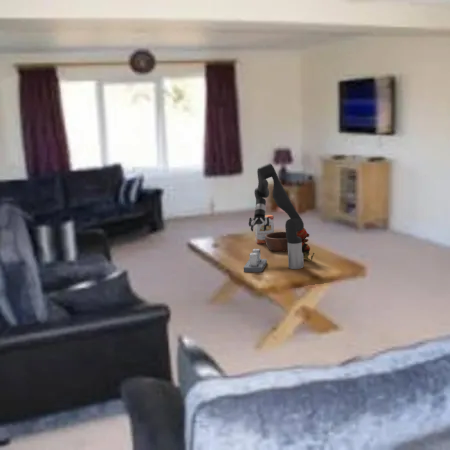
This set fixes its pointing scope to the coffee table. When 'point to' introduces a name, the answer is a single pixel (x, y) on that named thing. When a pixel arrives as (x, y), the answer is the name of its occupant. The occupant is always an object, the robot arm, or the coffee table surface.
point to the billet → (257, 254)
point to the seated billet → (253, 260)
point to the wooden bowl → (277, 241)
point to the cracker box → (260, 231)
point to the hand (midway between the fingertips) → (258, 230)
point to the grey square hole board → (255, 269)
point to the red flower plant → (304, 244)
